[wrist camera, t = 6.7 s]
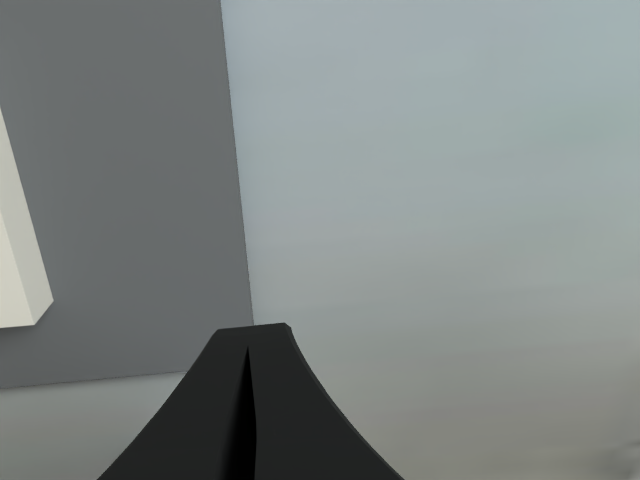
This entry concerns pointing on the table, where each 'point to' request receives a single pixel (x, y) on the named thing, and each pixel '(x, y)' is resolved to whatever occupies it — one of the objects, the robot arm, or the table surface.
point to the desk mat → (123, 185)
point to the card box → (18, 249)
